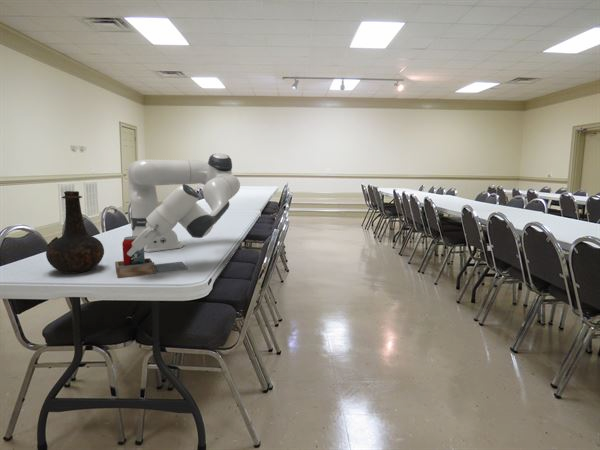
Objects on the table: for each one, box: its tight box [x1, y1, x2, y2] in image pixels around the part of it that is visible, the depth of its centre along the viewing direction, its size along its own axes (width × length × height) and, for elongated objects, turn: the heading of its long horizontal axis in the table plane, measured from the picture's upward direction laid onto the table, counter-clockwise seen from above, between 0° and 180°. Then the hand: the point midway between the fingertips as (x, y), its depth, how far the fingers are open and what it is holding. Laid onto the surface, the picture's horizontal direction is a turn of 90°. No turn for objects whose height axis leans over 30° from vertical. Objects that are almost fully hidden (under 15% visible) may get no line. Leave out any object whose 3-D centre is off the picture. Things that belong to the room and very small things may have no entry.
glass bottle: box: [45, 190, 105, 274], centre depth 141 cm, size 18×18×28 cm
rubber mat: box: [154, 261, 189, 273], centre depth 146 cm, size 10×10×1 cm
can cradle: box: [114, 257, 156, 278], centre depth 140 cm, size 12×12×4 cm
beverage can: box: [122, 235, 146, 266], centre depth 140 cm, size 7×7×12 cm
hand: (131, 252), depth 139 cm, fingers closed on beverage can, 7 cm apart
